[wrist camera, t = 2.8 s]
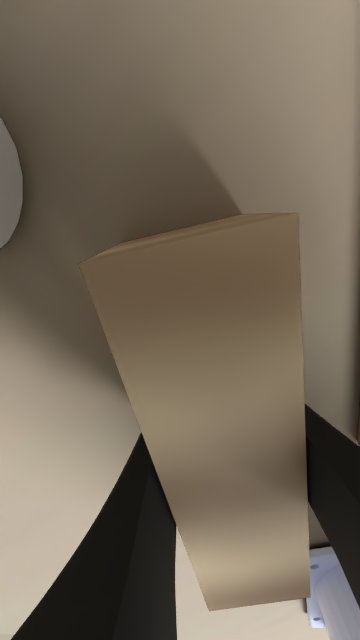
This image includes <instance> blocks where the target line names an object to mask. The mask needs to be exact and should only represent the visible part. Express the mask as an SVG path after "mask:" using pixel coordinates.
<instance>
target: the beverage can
mask: <svg viewBox="0 0 360 640" xmlns="http://www.w3.org/2000/svg"><path fill="white" fill-rule="evenodd" d="M22 202H23V175H22V171H21V167H20V162H19V158H18V153H17V149H16V146H15V144H14V142H13V140H12V138H11V136H10V134H9V132H8V130H7V128H6V126H5V124H4V122H3V120H2V119H1V118H0V248H1V247H2V246H3V245H4V244H5V243H6V242H8V241H9V239H10V238H11V236H12V234H13V232H14V230H15V228H16V226H17V224H18V221H19V217H20V212H21V207H22Z"/></svg>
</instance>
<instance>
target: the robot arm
mask: <svg viewBox="0 0 360 640" xmlns="http://www.w3.org/2000/svg"><path fill="white" fill-rule="evenodd" d="M305 434H306V465H307V496H308V502H309V504H310V505H311V507H312V509H313V511H314V513H315V515H316V517H317V519H318V521H319V523H320V525H321V527H322V528H323V530H324V532H325V534H326V536H327V538H328V540H329V542H330V544H331V547H324V548H318V549H311V550H309V558H310V589H311V597H310V598H306V601H307V614H308V621H309V624H310V626H311V627H313V628H320V627H326V629H327V632H328V635H329V638H330V640H360V446H358V445H357V444H355V443H354V442H353V441H351V440H350V439H349V438H347V437H346V436H345V435H343V434H342V433H341V432H340V431H338V430H337V429H336V428H334V427H333V426H332V425H330V424H329V423H328V422H327V421H325V420H324V419H323V418H322V417H320V416H319V415H318V414H317V413H316V412H314V411H313V410H312V409H311V408H310V407H308V406H307V405H306V404H305ZM175 551H176V522H175V519H174V517H173V514H172V511H171V509H170V506H169V504H168V501H167V498H166V496H165V493H164V490H163V488H162V485H161V482H160V480H159V477H158V474H157V472H156V469H155V466H154V464H153V461H152V458H151V456H150V453H149V450H148V448H147V445H146V443H145V440H144V437H143V435H142V432H141V434H140V436H139V438H138V440H137V442H136V445H135V447H134V449H133V451H132V453H131V455H130V457H129V459H128V461H127V463H126V465H125V467H124V469H123V471H122V473H121V475H120V477H119V479H118V481H117V483H116V484H115V486H114V488H113V490H112V492H111V493H110V495H109V497H108V499H107V501H106V502H105V504H104V506H103V508H102V509H101V511H100V513H99V515H98V516H97V518H96V519H95V521H94V523H93V524H92V526H91V528H90V529H89V531H88V532H87V534H86V536H85V537H84V539H83V540H82V542H81V543H80V545H79V546H78V548H77V550H76V551H75V553H74V554H73V555H72V557H71V558H70V560H69V561H68V563H67V564H66V566H65V567H64V569H63V570H62V571H61V573H60V574H59V576H58V577H57V579H56V580H55V582H54V583H53V584H52V586H51V587H50V589H49V590H48V591H47V593H46V594H45V595H44V597H43V598H42V600H41V601H40V602H39V604H38V605H37V606H36V608H35V609H34V610H33V612H32V613H31V614H30V615H29V617H28V618H27V619H26V621H25V622H24V623H23V625H22V626H21V627H20V628H19V630H18V631H17V632H16V634H15V635H14V636H13V637H12V639H11V640H177V629H176V601H175Z"/></svg>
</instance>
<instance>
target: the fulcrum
mask: <svg viewBox="0 0 360 640" xmlns="http://www.w3.org/2000/svg"><path fill="white" fill-rule="evenodd" d="M358 443H359V444H360V408H359V425H358Z"/></svg>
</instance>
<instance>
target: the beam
mask: <svg viewBox="0 0 360 640" xmlns="http://www.w3.org/2000/svg"><path fill="white" fill-rule="evenodd" d="M78 265H79V268H80V270H81V273H82V275H83V278H84V281H85V283H86V286H87V289H88V291H89V294H90V297H91V299H92V302H93V305H94V307H95V310H96V313H97V315H98V318H99V321H100V323H101V326H102V329H103V331H104V334H105V336H106V339H107V342H108V344H109V347H110V350H111V352H112V355H113V358H114V360H115V363H116V366H117V368H118V371H119V374H120V376H121V379H122V382H123V384H124V387H125V389H126V392H127V395H128V397H129V400H130V403H131V405H132V408H133V411H134V413H135V416H136V419H137V421H138V424H139V427H140V429H141V432H142V435H143V437H144V440H145V443H146V445H147V448H148V450H149V453H150V456H151V458H152V461H153V464H154V466H155V469H156V472H157V474H158V477H159V480H160V482H161V485H162V488H163V490H164V493H165V496H166V498H167V501H168V504H169V506H170V509H171V511H172V514H173V517H174V519H175V522H176V525H177V527H178V530H179V533H180V535H181V538H182V541H183V543H184V546H185V549H186V551H187V554H188V557H189V559H190V562H191V565H192V567H193V570H194V572H195V575H196V578H197V580H198V583H199V586H200V588H201V591H202V594H203V596H204V599H205V602H206V604H207V607H208V610H209V611H214V610H221V609H229V608H236V607H243V606H251V605H258V604H266V603H273V602H281V601H288V600H296V599H303V598H310V597H311V589H310V558H309V527H308V496H307V465H306V434H305V403H304V371H303V340H302V309H301V278H300V247H299V216H298V213H269V214H241V215H237V216H233V217H229V218H224V219H220V220H216V221H212V222H208V223H203V224H199V225H195V226H191V227H186V228H182V229H178V230H174V231H169V232H165V233H161V234H157V235H152V236H148V237H144V238H140V239H135V240H131V241H127V242H123V243H119V244H117V245H115V246H113V247H111V248H109V249H107V250H105V251H103V252H101V253H99V254H97V255H95V256H93V257H91V258H89V259H87V260H85V261H83V262H81V263H79V264H78Z"/></svg>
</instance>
